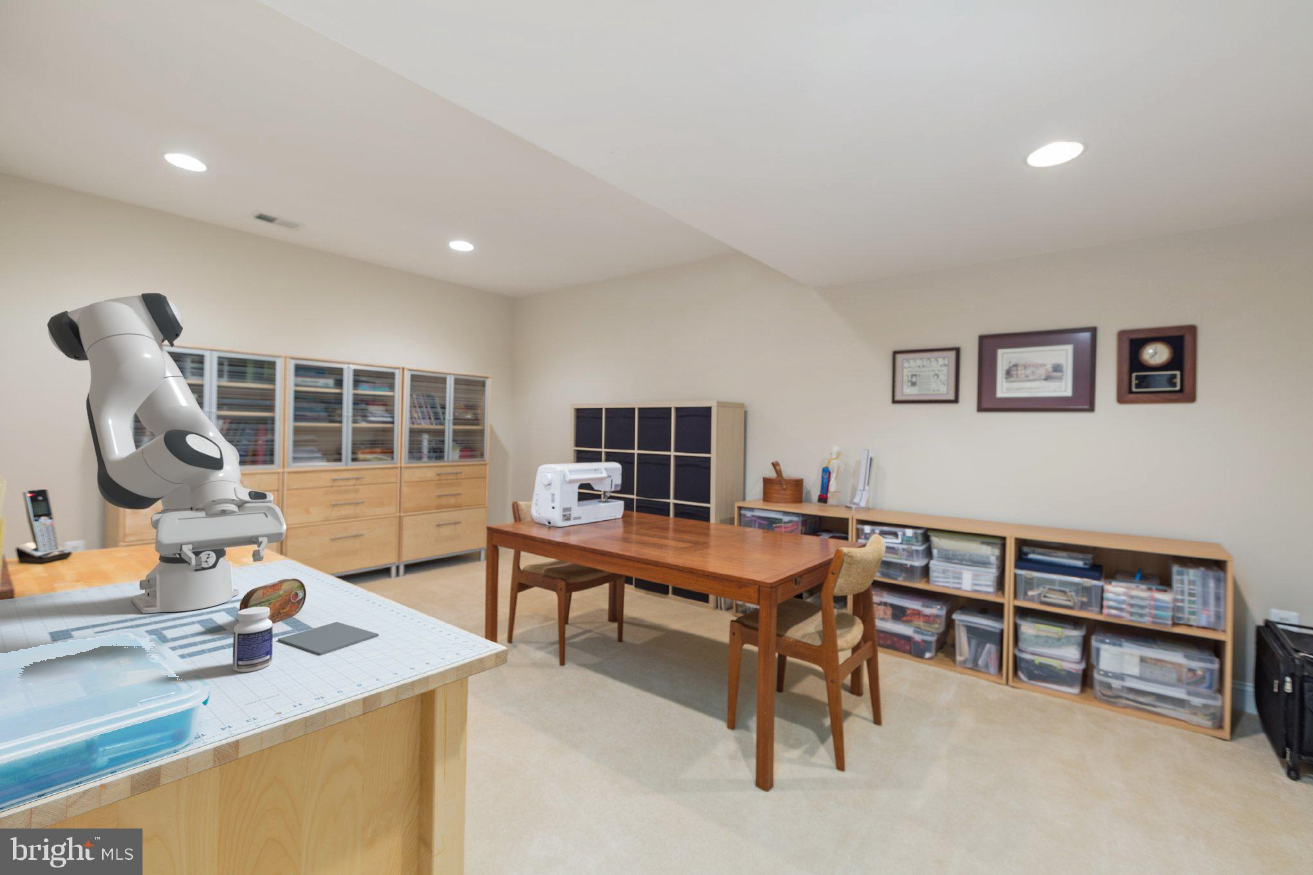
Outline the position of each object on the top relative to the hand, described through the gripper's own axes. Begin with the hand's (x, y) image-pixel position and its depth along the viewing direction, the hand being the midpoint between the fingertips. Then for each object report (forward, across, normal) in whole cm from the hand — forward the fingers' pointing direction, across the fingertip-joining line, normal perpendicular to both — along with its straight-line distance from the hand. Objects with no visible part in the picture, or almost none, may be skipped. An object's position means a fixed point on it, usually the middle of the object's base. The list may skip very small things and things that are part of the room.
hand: (228, 563), depth 107 cm
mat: (+16, +16, +8) cm, 23 cm away
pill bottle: (+20, +2, +4) cm, 20 cm away
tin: (+2, +10, +22) cm, 24 cm away
